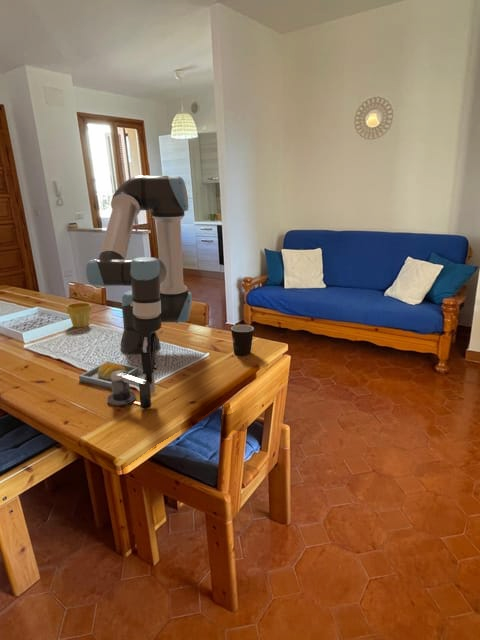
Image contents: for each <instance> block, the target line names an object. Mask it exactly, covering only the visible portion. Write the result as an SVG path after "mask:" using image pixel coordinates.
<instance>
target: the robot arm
mask: <svg viewBox="0 0 480 640" xmlns="http://www.w3.org/2000/svg"><path fill="white" fill-rule="evenodd" d="M187 192H188V191H187V187H186V183H185V180H184V179H183V177H181V176H178V175H170V174H169V175H136V176H133V177H130V178H128V179H127V180H126V181H124V182H123V183H122V184H121V185H120V186H119V187H117V189H116V190H115V192H114V194H113V195H112V197H111V202H110V206H111V213H110V216H109V220H108V224H107V228H106V231H105V234H104V238H103V240H102V246H101V248H100V252H99V254H98V259H97V258H94V259H89V260H87V263H86V265H85V276H86V280H87V282H88V283H89V284H90V285H92V286H99V287H101V286H102V287H108V286H109V287H113V286H114V287H115V286H116V287H117V286H118V287H120V286H127V287H129V286H130V287H131V289H130V290H127V291H125V292H124V293H123V294H122V295H121V310H122V311H121V312H122V323H123V331H122V336H121V341H120V350H121V351H122V352H124V353H127V354H135V355H137V354H140V356H141V357H140V358H141V368H142V370H141V372H140V373H141V374H143V375H144V380H149V381H150V394H155V392H156V381H155V379H156V378H155V377H156V376H155V371H157V370H158V367H157V366H155V365H156V350H157V349H159V348H160V346H161V343H160V339H159V337H158V333H157V331H158V330H161V328H162V323H174V324H175V323H176V324H178V323H186V322H188V321H189V320H190V317H191V316H190V315H191V309H192V299H193V298H192V297H193V296H192V295H193V294H192V292H191V291H188V286H187V285H185V284H184V269H183V267H184V265H183V248H182V247H183V246H182V242H183V241H182V226H181V222H182V219H183V218H185V212H187V211H188V210H189V208H190V207H189V197H188V193H187ZM141 211H150V213H151V217H152V218H153V220H155V221H156V223H155V224H156V233H157V237H156V238H157V249H158V257H151V256H150V257H148V256H146V257H145V256H143V257H142V256H141V257H136V258H133V259H126V257H127V254H128V249H129V244H130V240H131V237H132V232H133V229H134V225H135V224H134V223H135V219H136V217H137V216H138V215H139V213H140V212H141Z"/></svg>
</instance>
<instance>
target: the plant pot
mask: <svg viewBox="0 0 480 640" xmlns="http://www.w3.org/2000/svg"><path fill="white" fill-rule="evenodd" d="M91 312H92V305H91V303H89V302H73V303H70V304H68V305H66V313H67V315H68V316H69V318H70V321H71V324H72V326H73V327H74V328H77V329H78V328H85V327H87V326H89V325H90V324H89V323H90V316H91V315H90V314H91Z"/></svg>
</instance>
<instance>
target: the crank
mask: <svg viewBox="0 0 480 640" xmlns="http://www.w3.org/2000/svg"><path fill="white" fill-rule="evenodd" d="M111 380H112V381H113V382H125V383H128V384H129V385H131V386H134V387H136V388H137V387H138V391H139V392H138V393H139V402H140V405H139V406H140V409H146V410H147V409H149V408H151V407H152V398H151V397H152V393H150V381H149V380H145V379H143V378H139V377H136V376H131V375H129V373H128V371H125V370H119V371H115V372H113V373H111Z"/></svg>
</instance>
